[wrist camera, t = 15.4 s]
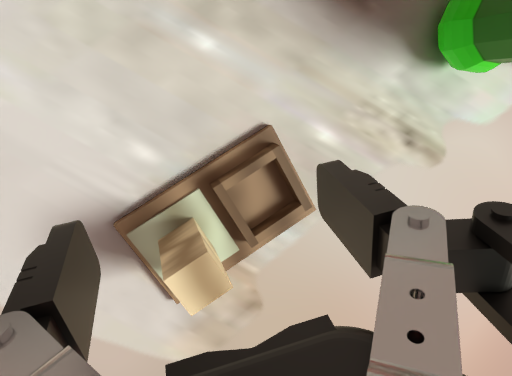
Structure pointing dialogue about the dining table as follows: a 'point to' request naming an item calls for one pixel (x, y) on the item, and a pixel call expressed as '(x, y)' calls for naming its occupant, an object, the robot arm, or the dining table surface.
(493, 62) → the plastic bottle
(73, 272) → the robot arm
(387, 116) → the dining table surface
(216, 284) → the maple block
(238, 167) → the puzzle board
